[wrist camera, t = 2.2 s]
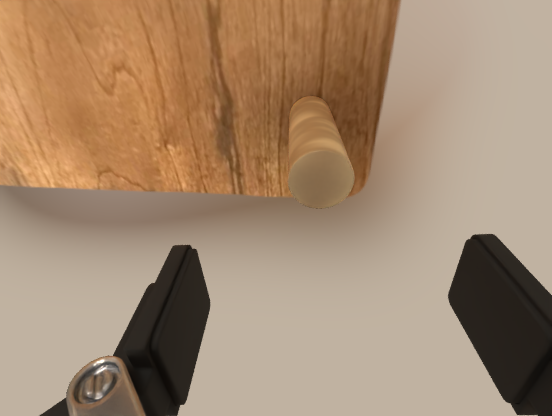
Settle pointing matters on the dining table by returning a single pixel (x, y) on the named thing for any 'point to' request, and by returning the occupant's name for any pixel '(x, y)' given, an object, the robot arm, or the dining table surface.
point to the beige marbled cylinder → (317, 156)
